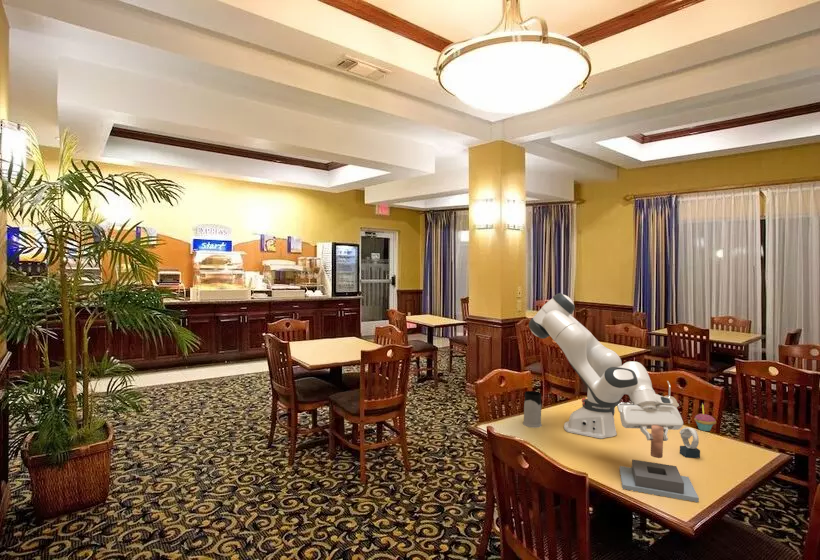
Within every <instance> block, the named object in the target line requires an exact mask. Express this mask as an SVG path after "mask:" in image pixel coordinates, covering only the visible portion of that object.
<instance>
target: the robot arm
mask: <svg viewBox="0 0 820 560" xmlns="http://www.w3.org/2000/svg"><path fill="white" fill-rule="evenodd" d="M575 306H576V305H575V304H574V301H573V300H572V298H571V297H569V296H568V295H566V294H564V293H561V292H559V293H557V294H554V295H553V296H552V298H551V299H549V300H548V301H547V302H545V304H544V305H542V306H541V308H540V309H539V310H538V311H537V313H536V314H534V317H531V319H530V320H529V322H528V327H529V330H530V332H531V333H532V334H533V335H534V337H535V336H536V337H538V338H540V340H542V339H547V338H549V337H551V339H552V340H553V341H554V343H556V345H558V346H559V349H561V350H562V352H563V354H564V355H565V357H566V359H567V361H568V363H569V365H570V366H571V367H572V369H573V370H574V372H575V373H576V374H577V375H578V377H579V378H580V379H581V380H582V381H583V384H585V386H586V387H587V394H586V395H587V398H585V397H582V398H581V402H582V406H581V407H579V408H578V409H575V410H574V411H572V413H571V414H570V415H569V419H568V421H565V422H564V424H563V429H564V431H565V432H567V433H571V434H575V435H581V436H586V437H590V438H591V437H592V438H594V439H600V440H601V439H605V438H612V437H615V436H617V434H618V432H617V429H616V424H615V411H616V408H617V410H618V412H619V418H620V422H621V423H620V424H621V426H622V427H623V428H625V429H638V430H639V431H640V432H641V433H642V434H643V435H644V436H645V438H646V440H647V441H651V440H653V435H652V434H651V433H650V432H649V431H648V430H651V427H652V425H658V426H662V427H663V442H664V441H665V442H667V441H669V437H668V432H669V430H673V431H675V430H676V431H677V430H681V428H682V427H683V426H684V420H683V418H682V415H681V413H680V412H679V410H678V407H677V408H676V407H674V406H672V405H673V400H672V399H670V398H666V397H664V396H663V395H660V394H657V392H656V391H655V390H654V388H653V384H652V383H653V382H652V380H651V377H650V374H649V373H648V370H647V369H646V367H645V366H644V365H643V364H642V363H641V362H638V361H626V362H625V363H623V364H622V359H621V357H620V356H619V355H618V354H617V352H616V351H614V350H612V349H610V348H608V347H606V346H605V345H603V344H602V343H601V342H600V341H599V340H598V339H597V338H596V337H595V336H594V335H593V334H592V332H591V331H590V330H588V328H587V327H585V326H584V325H583V324H582V323H581V322H580V321H578V320H577V318H575V317H574V316H572V314H573V313H574V311H575V308H576V307H575ZM624 395H628V397H629V400H630V402H623V401H621V400H622V398H623V396H624ZM620 401H621V402H620Z"/></svg>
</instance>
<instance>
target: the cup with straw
mask: <svg viewBox="0 0 820 560" xmlns="http://www.w3.org/2000/svg"><path fill="white" fill-rule="evenodd" d="M666 382H667V385H668V395H665V396H663V397H666V398H670V399H672V400H673V405H672V406H674V407H676V408H677V409H678V407H680V403H678V401H677V399H676V398H675V397H674V396H671V383H670V382H669V380H666Z"/></svg>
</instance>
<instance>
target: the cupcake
mask: <svg viewBox="0 0 820 560" xmlns="http://www.w3.org/2000/svg"><path fill="white" fill-rule="evenodd" d="M701 410H702V411H701V412H702V413H698V414H696V415H695V416H694V419H693V421H695V423H696V426H697V428H698V430H700V431H704V432H710V431H711V430H712V427H713V426H714V425H716V424H717V421H716V418H715V417H713V416H712V415H711V414H710V415H709V414H706V413H705V406H704V403H703V402H702V403H701Z"/></svg>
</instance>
